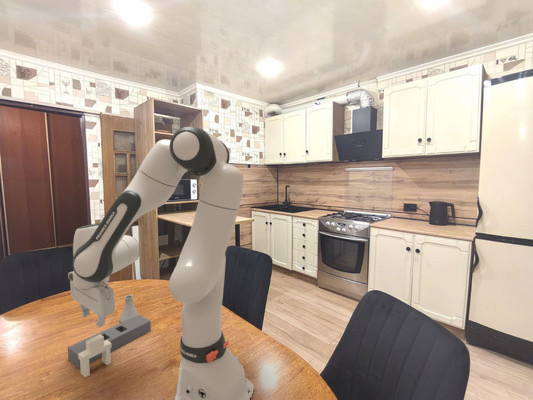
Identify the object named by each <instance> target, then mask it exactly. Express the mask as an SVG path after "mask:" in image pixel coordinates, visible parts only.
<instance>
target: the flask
mask: <svg viewBox="0 0 533 400" xmlns="http://www.w3.org/2000/svg"><path fill="white" fill-rule="evenodd" d="M133 298H134V295H133V294H128V295H125V296H124V297H123V299H124V307H123V309H122V312H121V315H120V317H119V319H118V322H119V323H122V322H124V321H126V320H129V319H131V318H133V317H135V316H137V315H140V314H139V312H138V310H137V308H136V306H135V304H134V300H133Z"/></svg>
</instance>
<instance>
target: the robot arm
mask: <svg viewBox="0 0 533 400" xmlns="http://www.w3.org/2000/svg"><path fill="white" fill-rule="evenodd" d="M230 157H231V156H230V151H229V149H228V147H227V145H226V144H225V143H224V141H222V140H220V139H219V138H217V136H215V134H212V133H210V132H208V131H206V130H204V129H202V128H200V127H196V126H185V127H181V128H179V129H178V130H176V131H175V132H174V134H172V136H171V139H165V138H163V139H160V140H158V141H157V142H156V143H155V144H154V145H153V146H152V148H151V149H150V150H149V151H148V152H147V154H146V156H145V157H144V159H143V160H142V162H141V164H140V166H139V168H138V170H137V172H136V173H135V175H134V177H133V178H132V179H131V181H130V182H129V184H128V185H127V186H126V188H125V189H124V191H122V193H121V194H120V195H118V198H116V199H115V201H114V202H113V203H112V205H111V206H110V208H109V209H108V210H107V212H106V214H105V215H104V217H103V218H102V220H101V221H100V223H98V222H97V223H92V224H88V225H86V224H85V225H82V226H79V227H78V228H76V230H75V231H74V232H75V233H74V236H73V242H72V243H73V246H72V253H73V254H72V255H73V258H72V269H73V271H70V272H68V274H67V276H68V277H67V279H69V280H70V281H69V284H70V296H71V297H72V299H73V300H74V301H75V302H77V303H78V305H79V307H80V311H81V317H83V318H87V317H89V316H90V315H91V312H93V313H95V314H96V316H97V319H96V320H95V325H96V326H97V328H101V327H103V326H105V324H106V317H107V316H110V315H112V314H113V313H115V311H116V303H115V302H116V301H115V293H114V289H113V288H112V287H111V286H109V283H108V282H109V281H110V277H111V275H112V274H114V273H116V272H119V271H121V270H122V269H124V268H126V267H129V265H132V264H133V263H135V262H136V261H137V260H138V259H139V258H140V257H139V256H140V254H141V247H140V244H139V241H138V240H137V239H136V238H135V237H133V236H131V235H129V234H126V233H127V231H128V230H129V228H130V227H131V225H133V223H134V222H136V221H137V220H138V219H140V218H141V217H142V216H144V215H145V214H147V213H149V212H152V211H154V210H155V209H158V208H160V207H162V206H163V205H164V204H166V202H167V201H168V200H169V199H170V198H171V197H172V195H173V194H174V192H175V191H176V189H177V187H178V185H179V183H180V181H181V179H182V177H183V176H184V174H185V173H187V172H189V173H191V174H192V175H194V176H195V177H200V178H201V181H202V187H201V191H200V195H199V198H198V202H197V206H196V210H195V214H194V217H193V222H192V224H191V228H190V230H189V233H188V235H187V237H186V240H185V242H184V245H183V247H182V248H181V252H180V254H179V258H178V260H177V262H176V265H175V267H174V269H173V272H172V273H171V275H170V278H169V280H168V286H169V291H170V293H171V295H172V297H174V298H175V300H177V302H180V303H183V306H182V309H181V337H180V340H179V341H180V343H179V349H180V350H179V352H180V355H181V357H180V358H181V359H180V361H179V363H180V364H179V368H178V376H177V382H176V387H175V388H176V389H175V390H176V393H175V397H174V399H173V400H250V398H251V397H252V398H253V395H254V392H253V390H254V391H255V384H254V383H253V382H252V381H251V380H250V379H249V378H247V377H246V372H245V369H244V367H243V365H242V364H241V363H240V359H239V356H237V355H233V353H232V352H231V351H230V349H228V346H229V344H230V340H229V339H228V340H227V341H226V339H225V335H224V332H223V330H222V328H223V327H222V324H223V323H222V317H223V316H222V313H223V310H222V309H223V308H222V307H223V299H224V288H225V274H226V273H225V272H226V260H227V258H226V251H227V249H228V247H229V243H230V240H231V238H232V235H233V231H234V227H235V224H236V220H237V217H238V213H239V209H240V206H241V200H242V196H243V190H244V174H243V173H242V172H241V170H240V169H239V168H237V167H236V166H234V165H232V164H229V163H230V160H231V159H230ZM248 392H250V393H248ZM252 394H253V395H252ZM252 398H251V399H252Z"/></svg>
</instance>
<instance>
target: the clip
mask: <svg viewBox="0 0 533 400" xmlns="http://www.w3.org/2000/svg"><path fill="white" fill-rule="evenodd" d="M111 347H112V344H111V342H109V341H108V340H105V341H104V337H103V336H102V335H98V336H95V337H93V338H91V339H89V340H87V341H86V350H85V351H83V352H81V353H78V359H80V375H82V376H83V377H84V378H87V377H89V376H90V363H89V359H90V358H92V357H94V356H96V355H98V354H100V353H102V357H101V362H102V363H103V364H104V365H106V366H108V365H111V363H112V360H111V354H112V353H111V352H110V348H111Z"/></svg>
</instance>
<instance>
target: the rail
mask: <svg viewBox="0 0 533 400" xmlns="http://www.w3.org/2000/svg"><path fill="white" fill-rule="evenodd" d="M151 325H152V324H151V320H149V319H148V318H145V317H143V316H142V315H140V314H139V315H137V316H135V317H133V318H131V319H129V320H126V321H124V322H122V323H121V322H119V323H118V324H116V325H113V326H111V327H108V328H107V329H105V330H102V331H100V332H98V333H96V334H94V335H92V336H89V337H87V338H85V339H83V340H80V341H77V343H76V342H75V343H74V344H72V345H69V346H67V358H68V359H67V360H69V361H70V362H71V363H72V364H73V365H75V366H76V367H77V368H78V369H80V359H78V353H81V352H83V351H85V350H86V341H87V340H89V339H91V338H93V337H95V336H98V335H102V336H103V337H104V341H105V340H108V341H109V342H111V344H112V347H111V348H110V353H111V352H114V351H115V350H117V349H120V348H121V347H123V346H125V345H126V344H129V343H130V342H133V341H134V340H136V339H138V338H140V337H142V336H144V335H145V334H147V333H149V332H151V331H152V330H151V327H152V326H151ZM100 358H102V353H100V354H98V355H96V356H94V357H92V358H90V359H89V364H91V363H93V362H95V361H97V360H98V359H100Z"/></svg>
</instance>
